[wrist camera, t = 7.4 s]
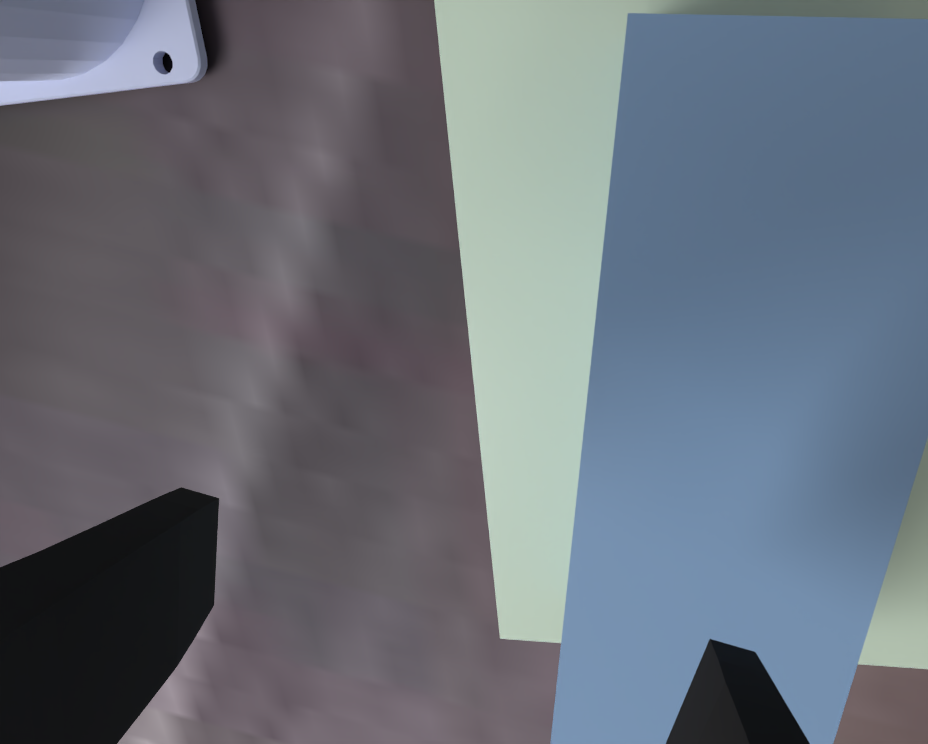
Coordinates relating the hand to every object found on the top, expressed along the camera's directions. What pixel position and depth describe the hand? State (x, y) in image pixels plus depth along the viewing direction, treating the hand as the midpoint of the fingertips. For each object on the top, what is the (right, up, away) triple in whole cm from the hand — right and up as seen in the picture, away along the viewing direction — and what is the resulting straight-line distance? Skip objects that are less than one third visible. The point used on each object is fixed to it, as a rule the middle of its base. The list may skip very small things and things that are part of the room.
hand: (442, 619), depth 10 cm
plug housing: (+6, +4, +7) cm, 10 cm away
